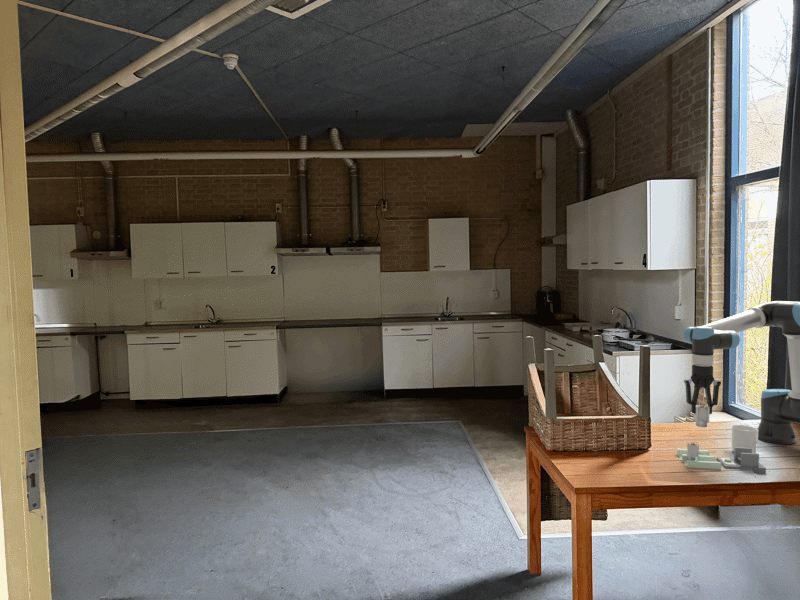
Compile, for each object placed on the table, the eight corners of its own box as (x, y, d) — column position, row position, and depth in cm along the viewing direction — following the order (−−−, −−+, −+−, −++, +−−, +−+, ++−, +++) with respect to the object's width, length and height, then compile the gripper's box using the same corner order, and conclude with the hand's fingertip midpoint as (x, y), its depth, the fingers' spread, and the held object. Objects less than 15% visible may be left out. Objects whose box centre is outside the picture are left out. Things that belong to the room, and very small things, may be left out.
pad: (750, 458, 216) (750, 456, 216) (755, 462, 212) (755, 460, 212) (737, 457, 217) (737, 456, 217) (741, 462, 213) (741, 460, 213)
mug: (745, 458, 226) (745, 431, 225) (726, 451, 234) (726, 426, 233) (766, 454, 229) (767, 428, 229) (747, 448, 238) (747, 423, 237)
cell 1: (696, 462, 218) (696, 441, 218) (699, 466, 214) (700, 444, 214) (685, 462, 219) (686, 441, 219) (688, 465, 215) (689, 444, 215)
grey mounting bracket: (754, 464, 219) (755, 447, 218) (765, 473, 209) (766, 455, 208) (716, 462, 222) (716, 445, 221) (725, 471, 212) (725, 453, 212)
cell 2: (705, 424, 222) (705, 404, 222) (708, 427, 219) (708, 406, 218) (694, 424, 223) (695, 403, 223) (697, 427, 220) (698, 406, 219)
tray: (708, 458, 225) (708, 450, 225) (721, 472, 211) (721, 463, 211) (677, 457, 228) (677, 448, 228) (687, 470, 214) (687, 461, 213)
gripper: (721, 363, 222) (720, 419, 223) (677, 362, 225) (676, 418, 226) (728, 366, 214) (727, 425, 216) (683, 365, 218) (682, 423, 219)
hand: (701, 421), depth 221 cm, fingers closed on cell 2, 3 cm apart
